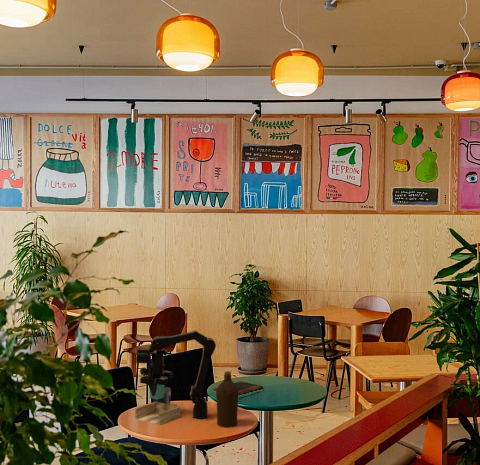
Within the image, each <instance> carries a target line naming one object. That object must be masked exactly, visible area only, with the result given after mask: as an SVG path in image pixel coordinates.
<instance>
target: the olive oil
mask: <svg viewBox="0 0 480 465" xmlns="http://www.w3.org/2000/svg"><path fill="white" fill-rule="evenodd" d="M223 373H224V375H223V380H222V382H221V383H220V384H219V385H218V386H217V387H216V388H217V391H216V395H215V396H216V424H217V426H219V427H222V428H234V427H236V426H237V424H238V408H239V399H238V395H239V391H238V388H237V386H236V385H235V384H234V383H235V382H234V381H233V379H232V372H231V371H224V372H223Z"/></svg>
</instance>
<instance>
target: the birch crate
mask: <svg viewBox="0 0 480 465" xmlns="http://www.w3.org/2000/svg"><path fill="white" fill-rule="evenodd" d="M180 409H181V408H180V406H177V405H173V404H170V405H169V404H164V403H160V402H153V401H152V402H150V403H148V404H144V405H141V406H138V407H136V408H135V409H134V419H135V420H138V421H141V422H147V423H151V424H153V425H154V424H155V425H158V426H160V425H163V424H165V423H168V422H170V421H174V420H176V419H179V418H180V416H181V414H180Z"/></svg>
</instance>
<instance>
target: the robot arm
mask: <svg viewBox="0 0 480 465" xmlns="http://www.w3.org/2000/svg"><path fill="white" fill-rule="evenodd" d="M193 340H194V341H196V342H197V343H198V344H200V345H201V346H202V357H201V361H200V364H199V365H200V366H199V370H198V373H197V378H196V381H195V384H194V385H190V386H191V388H190V392H189V396H190V401H191V402H192V404H193V408H192V419H195V420H205V419H208V418H210V416H208V409H209V408H208V402H207V399H206V397H205V396H204V385H205V381H206V377H207V373H208V369H209V364H210V360H211V358H212V357H213V354H214V352H215V350H216V346H217V345H216V342H215V340H214V338H212V337H207V336H205V335H204V334H203V333H201V332H199V331H197V330H193V331H188V332H184V333H180V334H175V335H174V334H173V335H167V336H166V335H161V336H160V335H157V336H155V337H153V338H152V340H151V344H150V345H149V346H148V348H147V349H145V348H144V349H142V348H137V349H136V356H135V357H136V358H135V359H136V361H135V362H136V364H149V362H151V364H150V365H149V367H147V368H146V367H142V368H140V370H139V373H140V375H142V376H141V377H140V379H139V383H140V384H144V385H147V386H148V387H149V392H150V391H151V394H152V396H155V392H156V388H157V384H162V385H164V388H165V387H167V384H168V382H169V381H170V379H173V378H174V377H175V374H174V372H173V371H170V370H164V368H166V364H164V357H165V356H164V355H167V354H168V351H167V350H166V349H165V348H167V347H170V346H171V345H176V344H180V343H185V342H190V341H193ZM156 380H157V381H158V382H156Z"/></svg>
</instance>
